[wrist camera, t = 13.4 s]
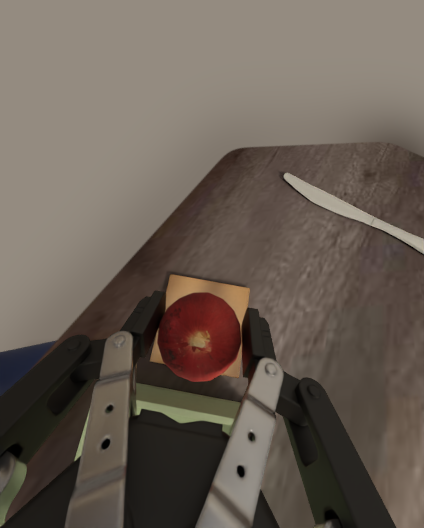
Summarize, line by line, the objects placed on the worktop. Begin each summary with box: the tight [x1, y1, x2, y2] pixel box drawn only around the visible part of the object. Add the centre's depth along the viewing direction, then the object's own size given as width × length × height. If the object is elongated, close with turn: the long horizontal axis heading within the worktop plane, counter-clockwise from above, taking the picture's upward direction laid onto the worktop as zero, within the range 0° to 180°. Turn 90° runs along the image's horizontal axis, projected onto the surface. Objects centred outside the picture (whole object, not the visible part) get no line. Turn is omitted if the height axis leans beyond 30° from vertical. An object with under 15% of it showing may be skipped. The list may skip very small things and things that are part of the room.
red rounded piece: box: [157, 292, 241, 382], centre depth 12 cm, size 6×6×8 cm
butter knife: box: [284, 173, 424, 254], centre depth 25 cm, size 1×27×3 cm
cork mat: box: [150, 274, 250, 378], centre depth 21 cm, size 10×10×1 cm
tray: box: [74, 383, 241, 461], centre depth 16 cm, size 15×15×3 cm
